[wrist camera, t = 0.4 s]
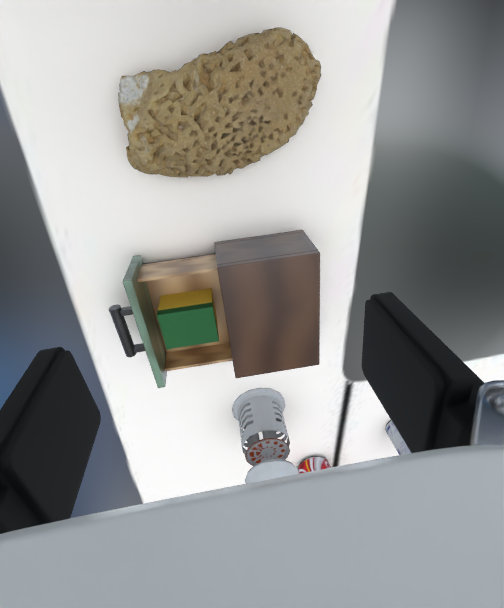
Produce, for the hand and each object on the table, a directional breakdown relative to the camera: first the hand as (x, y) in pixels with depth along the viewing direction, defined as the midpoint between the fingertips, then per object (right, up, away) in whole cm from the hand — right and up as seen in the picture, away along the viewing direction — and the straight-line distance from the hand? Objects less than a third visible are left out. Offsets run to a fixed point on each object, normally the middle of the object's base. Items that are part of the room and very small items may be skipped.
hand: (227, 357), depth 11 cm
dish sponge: (-8, +1, +38) cm, 39 cm away
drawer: (-10, +2, +39) cm, 40 cm away
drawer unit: (+3, +4, +40) cm, 40 cm away
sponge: (-3, +24, +27) cm, 36 cm away
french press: (+2, -18, +53) cm, 56 cm away
